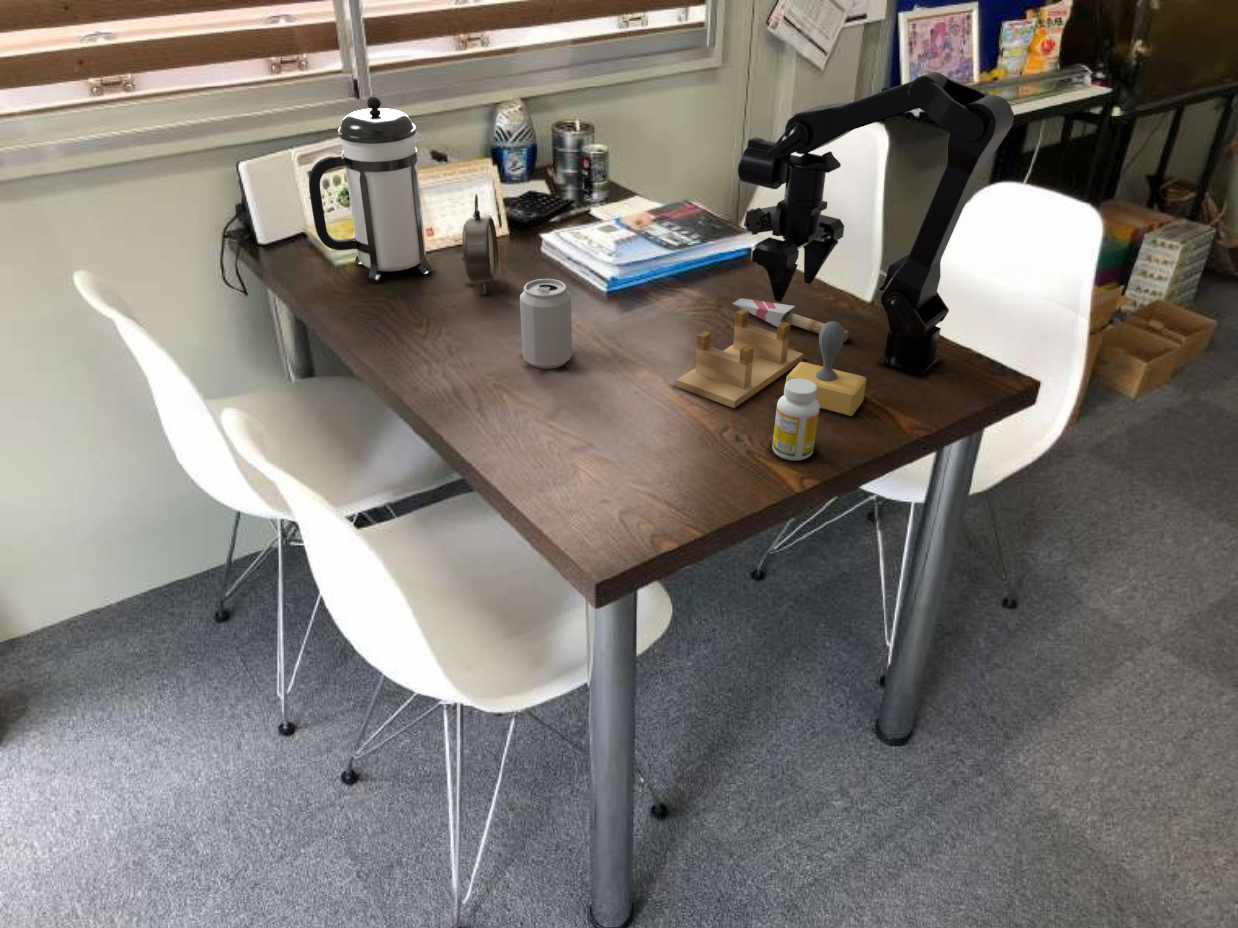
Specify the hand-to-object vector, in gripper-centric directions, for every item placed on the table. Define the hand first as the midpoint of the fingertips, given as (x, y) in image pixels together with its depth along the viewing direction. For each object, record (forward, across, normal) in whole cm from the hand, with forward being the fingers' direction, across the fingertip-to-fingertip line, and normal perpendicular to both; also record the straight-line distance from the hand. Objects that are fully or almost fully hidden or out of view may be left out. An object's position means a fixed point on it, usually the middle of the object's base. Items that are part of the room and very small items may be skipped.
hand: (793, 292), depth 160 cm
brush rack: (+6, +19, +3) cm, 20 cm away
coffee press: (+6, +26, -68) cm, 73 cm away
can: (+6, +34, -22) cm, 41 cm away
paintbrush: (+6, 0, 0) cm, 6 cm away
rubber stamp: (+6, +18, +16) cm, 25 cm away
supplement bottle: (+6, +33, +20) cm, 39 cm away
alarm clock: (+6, +20, -50) cm, 54 cm away
